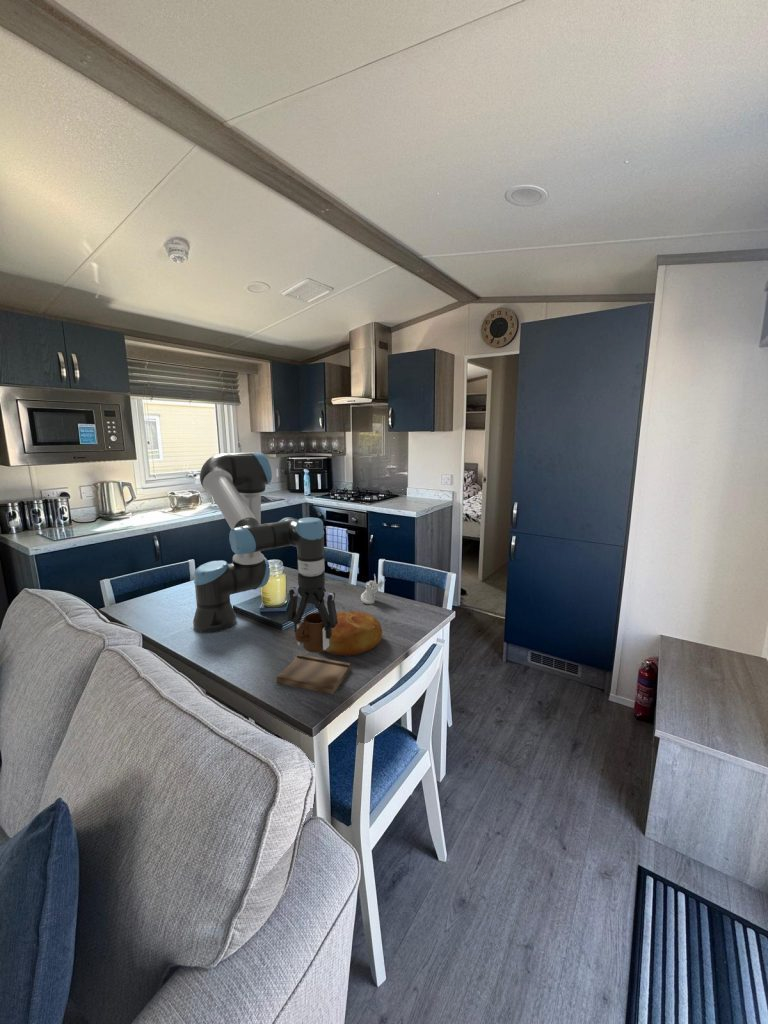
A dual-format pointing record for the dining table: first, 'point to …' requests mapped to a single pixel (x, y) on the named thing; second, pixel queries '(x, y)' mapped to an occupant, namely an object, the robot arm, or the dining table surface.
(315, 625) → the mug
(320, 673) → the board
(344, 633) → the bread
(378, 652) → the dining table surface
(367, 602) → the figurine
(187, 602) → the dining table surface
